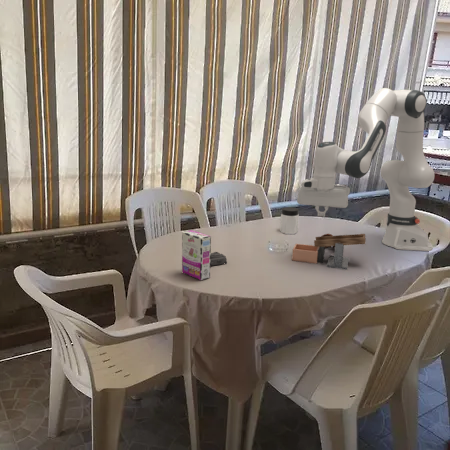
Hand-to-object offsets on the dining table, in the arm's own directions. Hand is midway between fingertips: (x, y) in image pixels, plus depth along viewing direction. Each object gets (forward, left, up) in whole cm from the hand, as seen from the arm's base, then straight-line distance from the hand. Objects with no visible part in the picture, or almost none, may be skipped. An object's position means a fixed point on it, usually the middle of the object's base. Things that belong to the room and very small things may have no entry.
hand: (321, 216), depth 189 cm
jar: (+19, -38, -19) cm, 46 cm away
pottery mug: (-3, -17, -19) cm, 26 cm away
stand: (-6, 0, -19) cm, 20 cm away
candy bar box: (+42, +34, -19) cm, 57 cm away
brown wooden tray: (-8, 0, -10) cm, 13 cm away
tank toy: (+41, +19, -20) cm, 49 cm away
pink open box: (+5, 0, -19) cm, 20 cm away
